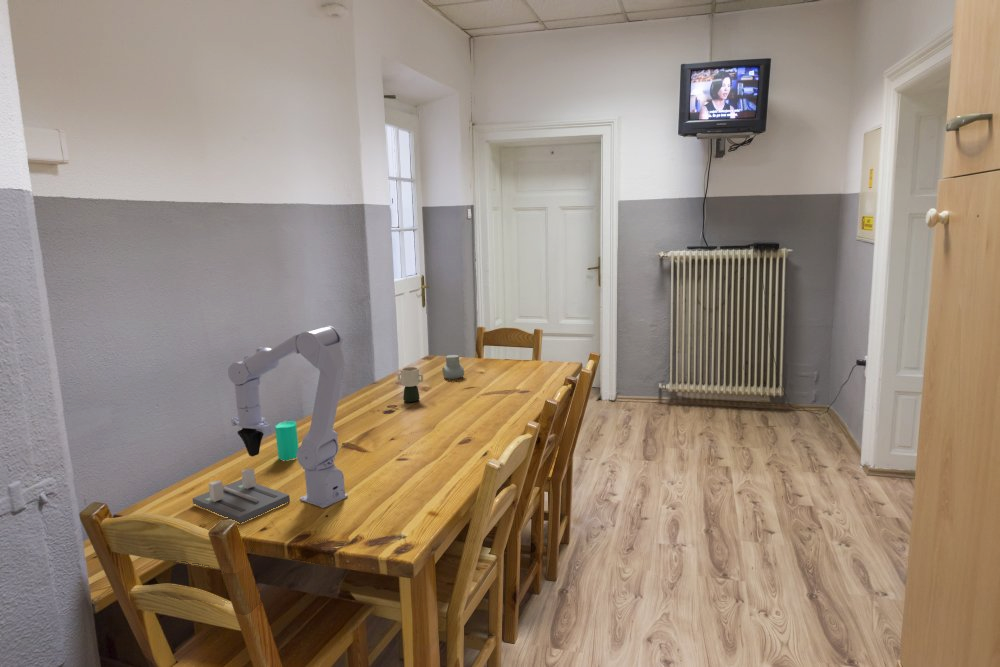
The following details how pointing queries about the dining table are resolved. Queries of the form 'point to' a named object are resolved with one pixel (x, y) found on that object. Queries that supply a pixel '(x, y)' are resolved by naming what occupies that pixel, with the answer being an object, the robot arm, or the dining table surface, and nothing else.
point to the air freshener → (453, 368)
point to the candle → (287, 440)
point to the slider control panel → (243, 501)
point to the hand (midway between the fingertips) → (254, 455)
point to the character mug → (410, 383)
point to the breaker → (248, 478)
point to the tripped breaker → (216, 490)
